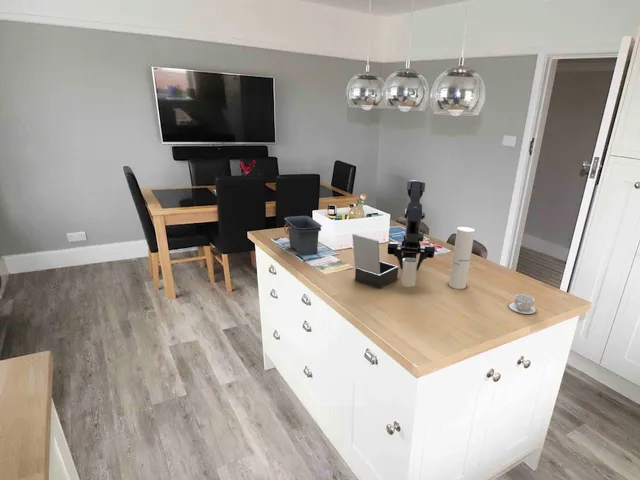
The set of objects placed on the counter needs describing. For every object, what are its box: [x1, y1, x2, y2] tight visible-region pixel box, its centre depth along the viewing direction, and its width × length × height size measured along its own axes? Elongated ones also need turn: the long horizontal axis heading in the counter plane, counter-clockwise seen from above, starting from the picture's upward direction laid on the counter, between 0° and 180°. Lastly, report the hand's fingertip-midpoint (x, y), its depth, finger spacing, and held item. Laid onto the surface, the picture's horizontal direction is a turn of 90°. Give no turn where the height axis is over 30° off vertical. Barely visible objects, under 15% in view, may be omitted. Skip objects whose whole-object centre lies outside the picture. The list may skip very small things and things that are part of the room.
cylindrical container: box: [448, 226, 476, 290], centre depth 175 cm, size 7×7×25 cm
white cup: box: [400, 258, 419, 287], centre depth 166 cm, size 6×6×10 cm
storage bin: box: [284, 215, 323, 256], centre depth 206 cm, size 21×16×14 cm
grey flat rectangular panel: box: [352, 233, 381, 275], centre depth 168 cm, size 15×12×1 cm
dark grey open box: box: [354, 260, 399, 289], centre depth 179 cm, size 14×12×6 cm
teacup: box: [508, 293, 537, 315], centre depth 162 cm, size 10×10×5 cm
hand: (409, 269), depth 164 cm, fingers closed on white cup, 6 cm apart
